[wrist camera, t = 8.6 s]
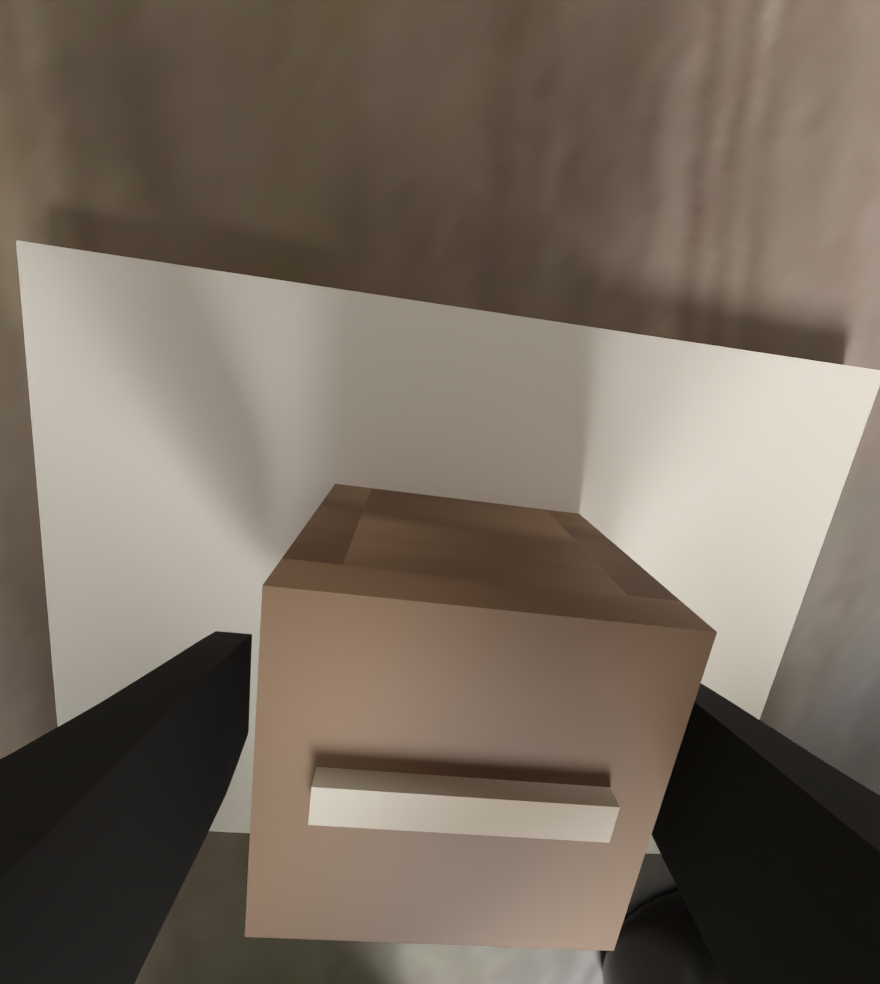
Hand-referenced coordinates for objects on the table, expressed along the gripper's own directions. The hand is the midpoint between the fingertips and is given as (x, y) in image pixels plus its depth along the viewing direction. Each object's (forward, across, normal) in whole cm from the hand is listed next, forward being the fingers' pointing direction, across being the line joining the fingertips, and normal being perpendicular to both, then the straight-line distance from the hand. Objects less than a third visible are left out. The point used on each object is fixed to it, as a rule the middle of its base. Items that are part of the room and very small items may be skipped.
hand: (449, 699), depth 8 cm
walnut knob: (+3, 0, 0) cm, 3 cm away
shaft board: (+4, 0, 0) cm, 4 cm away
